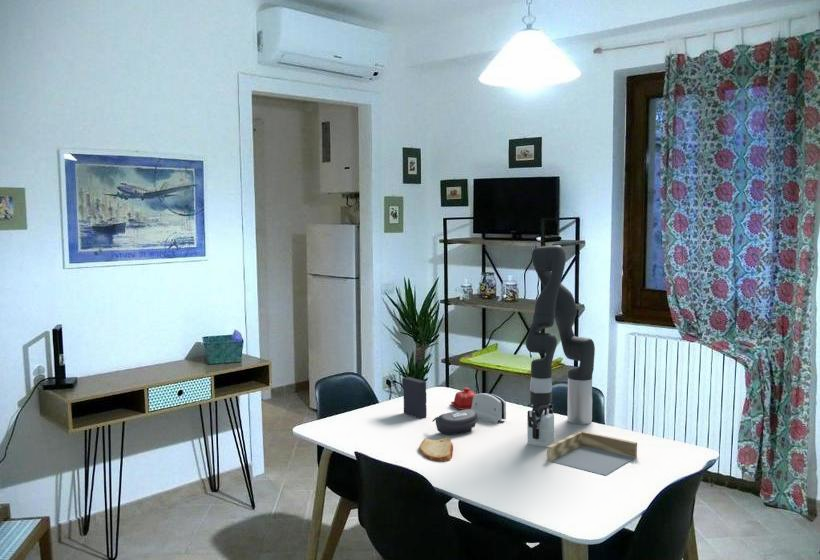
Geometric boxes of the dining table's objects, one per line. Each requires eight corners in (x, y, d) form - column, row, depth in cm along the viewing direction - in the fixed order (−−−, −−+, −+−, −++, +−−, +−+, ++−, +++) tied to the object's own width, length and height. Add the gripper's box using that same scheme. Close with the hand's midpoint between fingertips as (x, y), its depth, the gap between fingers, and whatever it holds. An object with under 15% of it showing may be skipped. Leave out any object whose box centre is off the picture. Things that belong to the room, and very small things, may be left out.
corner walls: (580, 444, 241) (580, 430, 240) (636, 457, 227) (637, 442, 227) (546, 461, 224) (547, 446, 224) (605, 476, 210) (606, 460, 210)
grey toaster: (468, 414, 280) (470, 390, 279) (476, 414, 282) (478, 389, 282) (497, 424, 266) (499, 398, 266) (506, 423, 269) (508, 397, 269)
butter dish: (484, 409, 288) (484, 389, 287) (458, 412, 285) (458, 391, 284) (474, 402, 299) (474, 383, 298) (449, 405, 296) (449, 385, 295)
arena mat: (582, 446, 239) (582, 445, 239) (634, 458, 226) (634, 457, 226) (551, 462, 223) (551, 461, 223) (605, 476, 210) (605, 475, 210)
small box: (554, 443, 242) (554, 414, 242) (548, 447, 238) (548, 417, 237) (533, 439, 247) (533, 410, 246) (526, 444, 242) (527, 414, 241)
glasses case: (445, 440, 247) (445, 418, 247) (428, 432, 256) (428, 412, 255) (483, 431, 257) (483, 410, 257) (465, 424, 266) (465, 404, 266)
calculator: (427, 417, 275) (427, 381, 274) (419, 419, 273) (419, 382, 272) (410, 412, 284) (410, 376, 283) (402, 414, 281) (402, 377, 280)
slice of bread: (443, 466, 222) (442, 454, 221) (402, 454, 234) (402, 443, 234) (476, 452, 235) (476, 441, 235) (436, 441, 247) (436, 431, 247)
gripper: (542, 384, 248) (542, 429, 250) (520, 391, 238) (520, 439, 239) (560, 387, 243) (560, 433, 245) (539, 395, 233) (539, 443, 234)
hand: (540, 436), depth 242 cm, fingers closed on small box, 6 cm apart
